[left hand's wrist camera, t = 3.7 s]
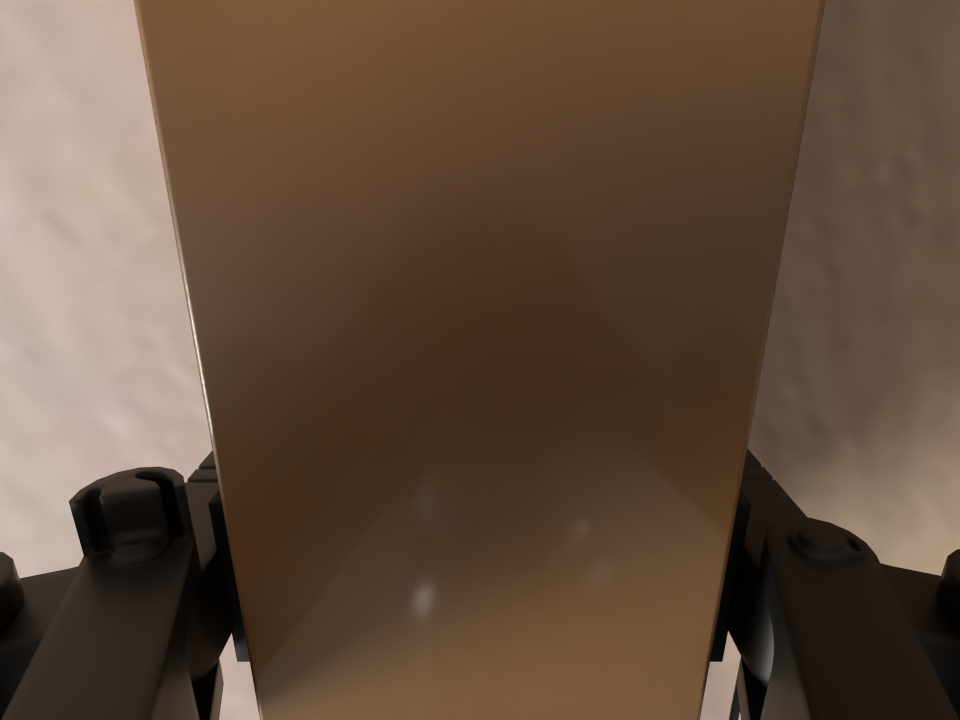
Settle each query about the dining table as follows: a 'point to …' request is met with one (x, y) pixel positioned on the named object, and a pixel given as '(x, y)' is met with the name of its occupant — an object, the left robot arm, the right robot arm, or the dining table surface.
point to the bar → (479, 333)
